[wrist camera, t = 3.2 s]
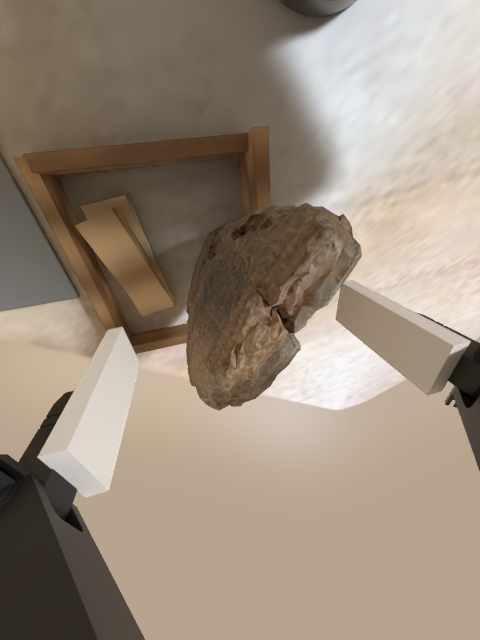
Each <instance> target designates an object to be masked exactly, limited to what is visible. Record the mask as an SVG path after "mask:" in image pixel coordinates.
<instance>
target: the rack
mask: <svg viewBox="0 0 480 640" xmlns="http://www.w3.org/2000/svg"><path fill="white" fill-rule="evenodd" d="M229 157H239V160H240V172H241V184H242V195H243V207H244V217H245V216H247V215H249V214H250V213H252V212H254V211H256V210H258V209H260V208H261V207H262V206H269V205H270V176H269V138H268V126H262V127H253V128H252V129H251V130H250V131H249V132H248V133H242V134H231V135H221V136H210V137H199V138H189V139H178V140H167V141H156V142H146V143H135V144H124V145H113V146H103V147H92V148H81V149H71V150H60V151H49V152H38V153H28V154H23V157H14V159H15V161H16V163H17V165H18V166H19V168H20V170H21V172H22V174H23V176H24V178H25V179H26V181H27V183H28V185H29V187H30V189H31V191H32V193H33V194H34V196H35V198H36V200H37V202H38V204H39V206H40V207H41V209H42V211H43V213H44V215H45V217H46V219H47V221H48V222H49V224H50V226H51V228H52V230H53V232H54V234H55V235H56V237H57V239H58V241H59V243H60V245H61V247H62V249H63V250H64V252H65V254H66V256H67V258H68V260H69V262H70V263H71V265H72V267H73V269H74V271H75V273H76V275H77V276H78V278H79V280H80V282H81V284H82V286H83V288H84V290H85V291H86V293H87V295H88V297H89V299H90V301H91V303H92V304H93V306H94V308H95V310H96V312H97V314H98V316H99V318H100V319H101V321H102V323H103V325H104V327H105V329H106V331H107V330H109V329H114V328H119V327H123V329H124V331H125V333H126V335H127V337H128V339H129V341H130V343H131V345H132V348H133V350H134V352H135V354H137V353H141V352H146V351H150V350H155V349H160V348H164V347H169V346H174V345H178V344H183V343H187V338H188V335H187V327H188V324H183V325H178V326H173V327H168V328H163V329H158V330H153V331H148V332H144V333H139V334H134V335H131V333H130V331H129V329H128V327H127V325H126V322H125V320H124V318H123V316H122V314H121V312H120V310H119V307H118V305H117V303H116V301H115V299H114V297H113V295H112V292H111V290H110V288H109V286H108V284H107V282H106V280H105V277H104V275H103V273H102V271H101V269H100V267H99V265H98V262H97V260H96V258H95V256H94V254H93V252H92V250H91V247H90V245H89V244H88V242H87V241H86V240H85V239H84V237H83V236H82V235H81V233H80V232H79V231H78V229H77V228H76V227H75V225H78V224H79V222H78V220H77V217H76V215H75V213H74V211H73V209H72V207H71V205H70V202H69V200H68V198H67V196H66V194H65V192H64V190H63V187H62V185H61V183H60V181H59V179H58V177H57V176H62V175H71V174H80V173H90V172H99V171H108V170H118V169H127V168H136V167H146V166H155V165H164V164H173V163H183V162H192V161H201V160H211V159H220V158H229Z"/></svg>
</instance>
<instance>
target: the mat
mask: <svg viewBox="0 0 480 640" xmlns="http://www.w3.org/2000/svg"><path fill="white" fill-rule="evenodd" d="M77 297H79V294H78V292H77V290H76V288H75V287H74V285H73V283H72V281H71V279H70V278H69V276H68V274H67V272H66V271H65V269H64V267H63V265H62V263H61V262H60V260H59V258H58V256H57V254H56V253H55V251H54V249H53V247H52V245H51V244H50V242H49V240H48V238H47V237H46V235H45V233H44V231H43V229H42V228H41V226H40V224H39V222H38V220H37V219H36V217H35V215H34V213H33V211H32V210H31V208H30V206H29V204H28V203H27V201H26V199H25V197H24V195H23V194H22V192H21V190H20V188H19V186H18V185H17V183H16V181H15V179H14V177H13V176H12V174H11V172H10V170H9V169H8V167H7V165H6V163H5V161H4V160H3V158H2V156H1V154H0V311H4V310H10V309H15V308H21V307H27V306H32V305H38V304H43V303H49V302H55V301H60V300H66V299H72V298H77Z"/></svg>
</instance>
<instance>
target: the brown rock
mask: <svg viewBox="0 0 480 640" xmlns="http://www.w3.org/2000/svg"><path fill="white" fill-rule="evenodd" d="M361 256H362V255H361V247H360V245H359V244H358V242H357V241H356V240H355V239H354V238H353V234H352V227H351V225H350V223H349V221H348V219H347V218H346V217H345V216H344V214H342V215H341V216H337V215H335V214H333V213H332V212H330V211H329V210H327V209H325V208H324V207H313V206H311V205H309V204H308V203H305V204H302V205H300V206H299V207H296V206H294V205H291V206H287V207H282V208H278V207H277V206H275V205H269V206H262V207H261V208H260V209H258V210H256V211H254V212H252V213H250V214H249V215H247V216H245V217H242V218H240V219H239V220H238V221H233V222H228V223H226V224H225V225H223V226H221V227H219V228H217V229H216V230H214V231H213V232H210V233H209V235H208V236H207V238H206V241H205V243H204V245H203V247H202V250H201V253H200V255H199V257H198V260H197V263H196V266H195V271H194V274H193V278H192V281H191V286H190V291H189V295H188V302H187V313H188V314H189V318H188V321H187V324H188V327H187V335H188V338H187V349H186V353H187V364H188V373H189V377H190V383H191V385H192V386H195V387H196V389H197V392H198V394H199V397H200V399H201V400H202V401H204V403H206V404H207V405H208V406H210V407H212V408H214V409H216V410H221V409H223V408H225V407H227V406H228V405H229V404H230V405H231V406H241V405H242V404H243V403H244V402H247V401H250V400H253V399H256V397H258V396H259V395H260V394H261V393H262V392H263V391H265V390H266V389H267V388H268V387H270V386H271V384H272V383H273V381H274V380H275V378H276V376H277V375H278V374H279V373H280V372H281V371H282V370H283V369H284V368H286V367H287V366H288V365H289V363H290V362H291V361H292V359H293V358H294V356H295V355H296V353H297V352H298V351H299V350H300V346H301V345H300V343H299V341H298V340H297V339H296V337H295V335H294V333H296V332H298V331H299V330H301V329H302V328H303V327H304V326H305V325H306V323H307V320H308V319H310V318H311V316H312V315H313V314H314V313H315V312H316V311H317V310H319V309H321V308H322V307H324V306H326V305H328V303H329V302H330V301H331V299H332V298H333V296H334V295H335V294H336V292H337V291H338V290H339V288H340V287H341V285H342V284H343V283H344V281H345V280H346V279H347V277H348V276H349V274H350V273H351V272H352V270H353V269H354V267H355V266H356V264H357V262H358V261H359V259H360V258H361Z"/></svg>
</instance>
